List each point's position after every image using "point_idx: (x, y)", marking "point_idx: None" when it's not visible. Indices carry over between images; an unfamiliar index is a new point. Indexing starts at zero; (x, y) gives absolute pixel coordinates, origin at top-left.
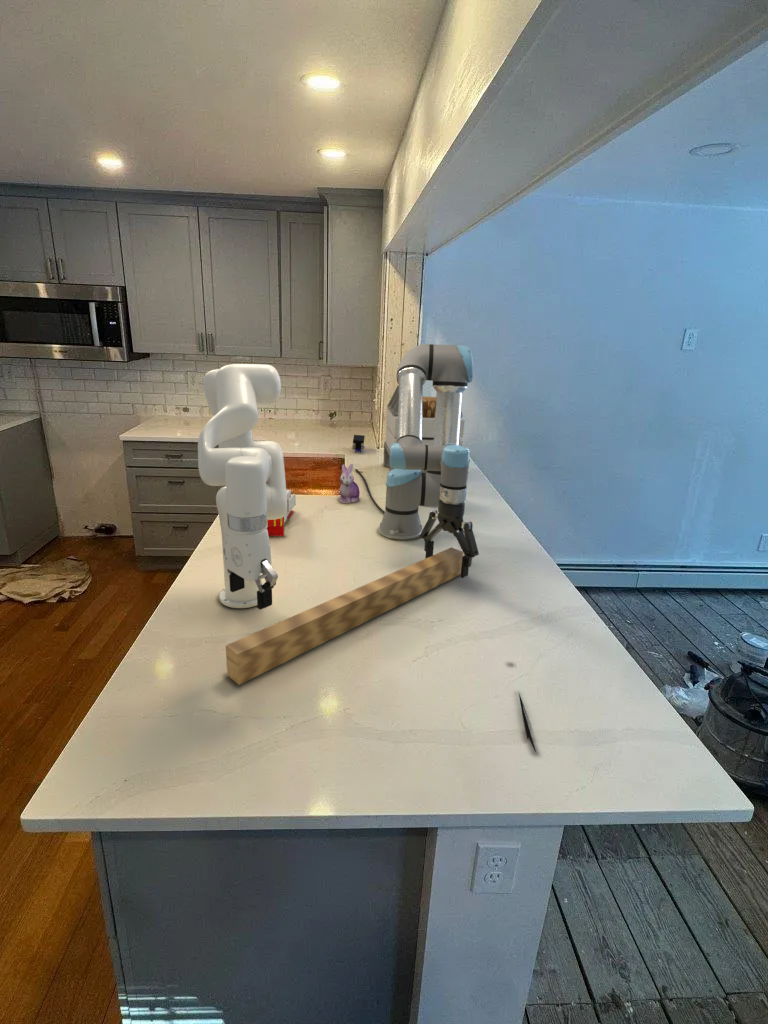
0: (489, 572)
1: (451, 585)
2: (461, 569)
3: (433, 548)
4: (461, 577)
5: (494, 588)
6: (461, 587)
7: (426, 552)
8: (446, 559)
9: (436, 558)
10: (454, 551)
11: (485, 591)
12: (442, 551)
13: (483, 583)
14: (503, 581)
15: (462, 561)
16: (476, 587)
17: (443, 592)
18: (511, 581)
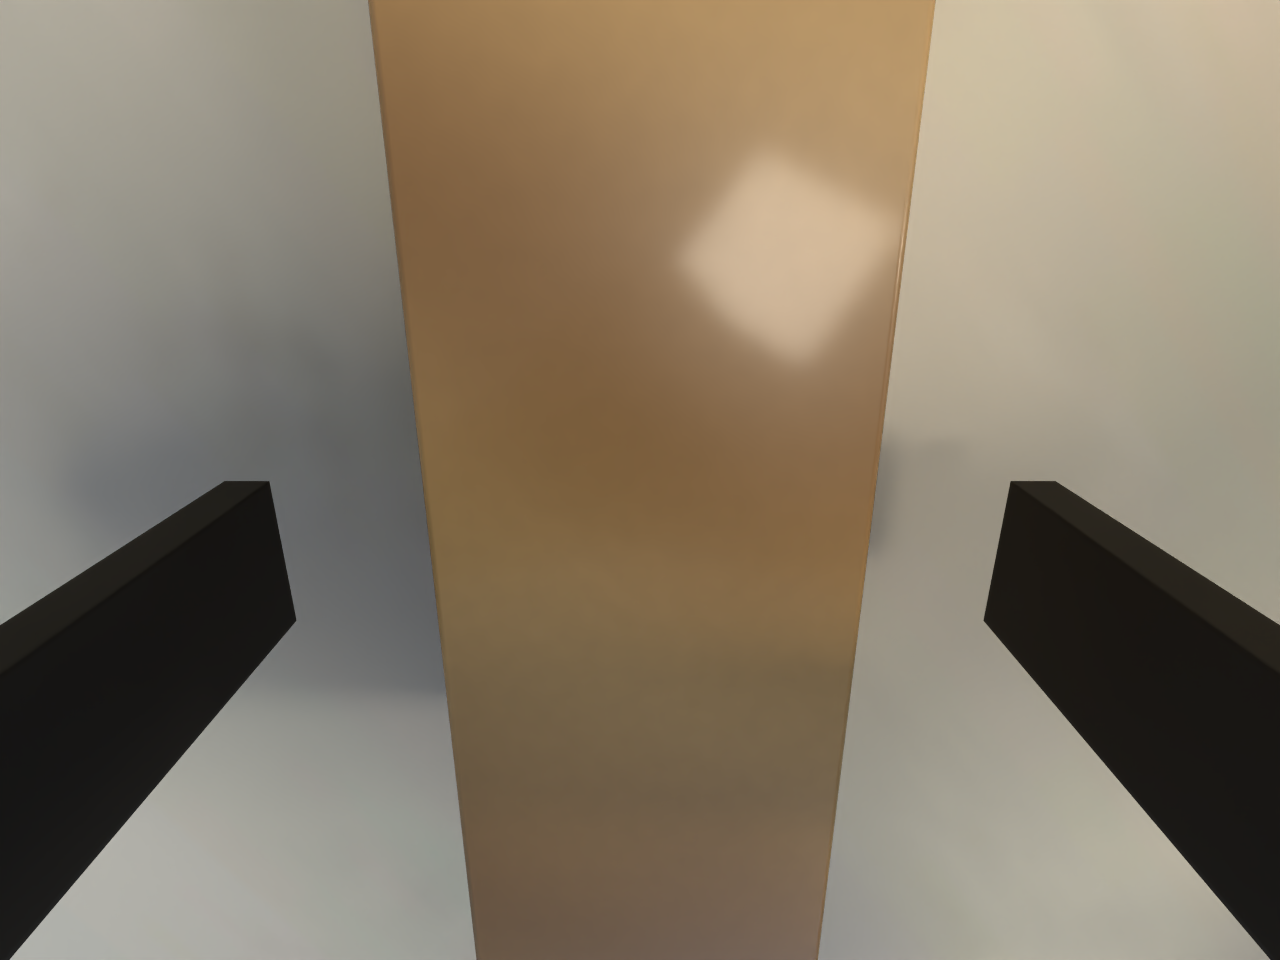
0: (380, 932)
1: None
2: (170, 545)
3: (1133, 795)
4: (247, 483)
5: None
6: (285, 414)
7: (1188, 580)
8: (422, 476)
9: (659, 289)
10: (618, 945)
11: (30, 554)
12: (826, 773)
13: None
14: (134, 875)
15: (8, 654)
16: None
17: (315, 55)
18: (91, 925)
